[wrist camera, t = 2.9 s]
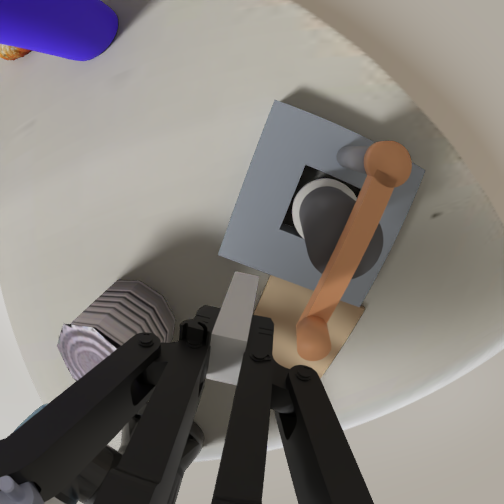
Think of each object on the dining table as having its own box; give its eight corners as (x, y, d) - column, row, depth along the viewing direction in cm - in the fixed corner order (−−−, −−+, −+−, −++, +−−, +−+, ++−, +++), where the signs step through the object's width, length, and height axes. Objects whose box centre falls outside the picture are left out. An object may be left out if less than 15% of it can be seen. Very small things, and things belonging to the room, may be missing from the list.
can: (158, 362, 40) (126, 422, 28) (94, 320, 39) (49, 368, 27) (190, 310, 36) (156, 374, 25) (116, 261, 35) (59, 306, 24)
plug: (335, 241, 31) (365, 300, 19) (282, 220, 31) (281, 269, 19) (358, 189, 29) (407, 218, 17) (304, 165, 29) (320, 177, 17)
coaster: (319, 375, 38) (319, 378, 37) (237, 350, 37) (236, 353, 37) (363, 306, 33) (365, 309, 33) (271, 272, 33) (271, 274, 32)
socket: (353, 294, 33) (383, 367, 21) (223, 245, 33) (189, 304, 20) (413, 167, 27) (484, 184, 15) (275, 104, 27) (270, 72, 15)
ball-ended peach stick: (321, 335, 20) (325, 365, 17) (286, 324, 20) (286, 354, 17) (409, 153, 15) (434, 155, 12) (372, 133, 15) (392, 131, 12)
